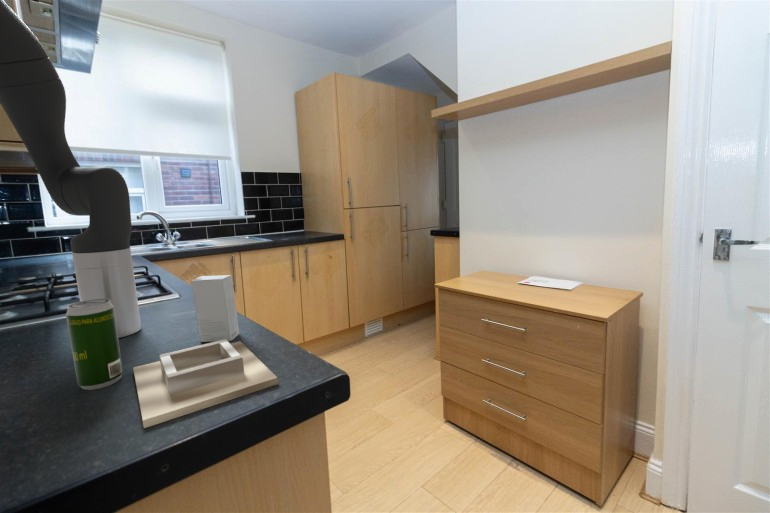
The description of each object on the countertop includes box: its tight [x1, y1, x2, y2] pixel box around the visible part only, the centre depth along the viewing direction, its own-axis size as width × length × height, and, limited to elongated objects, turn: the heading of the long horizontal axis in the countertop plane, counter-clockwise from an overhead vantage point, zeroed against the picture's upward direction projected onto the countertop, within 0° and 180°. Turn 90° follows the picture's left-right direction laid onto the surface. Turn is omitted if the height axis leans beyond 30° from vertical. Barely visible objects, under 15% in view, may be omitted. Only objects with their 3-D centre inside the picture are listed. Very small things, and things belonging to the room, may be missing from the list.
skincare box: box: [190, 274, 240, 343], centre depth 70 cm, size 6×4×12 cm
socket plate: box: [132, 339, 279, 429], centre depth 54 cm, size 18×16×4 cm
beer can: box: [65, 299, 124, 391], centre depth 54 cm, size 5×5×12 cm
